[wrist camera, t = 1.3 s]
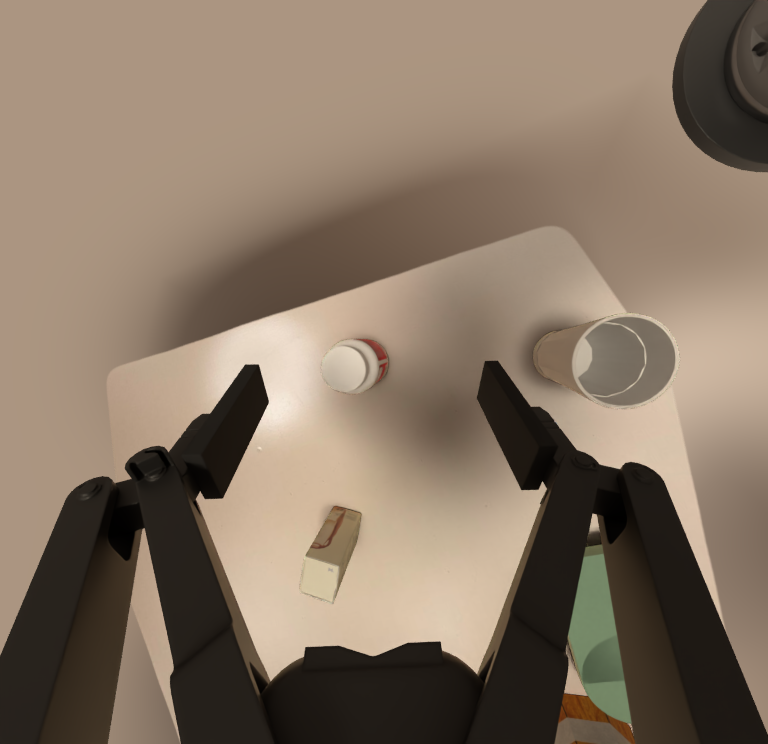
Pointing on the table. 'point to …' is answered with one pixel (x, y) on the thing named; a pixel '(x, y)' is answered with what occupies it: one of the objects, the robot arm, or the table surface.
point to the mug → (589, 724)
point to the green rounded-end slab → (597, 639)
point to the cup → (611, 359)
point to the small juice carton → (330, 555)
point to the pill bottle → (354, 365)
